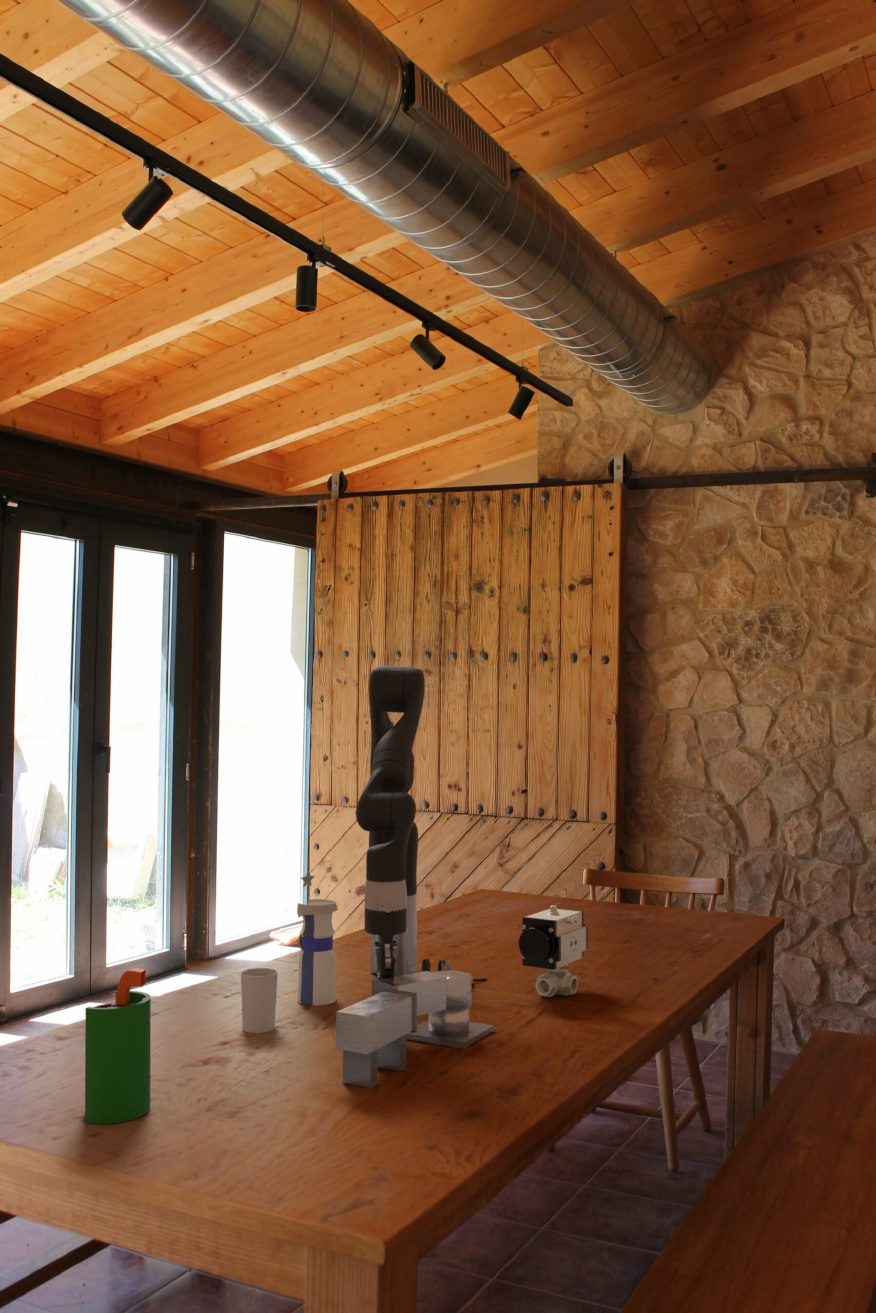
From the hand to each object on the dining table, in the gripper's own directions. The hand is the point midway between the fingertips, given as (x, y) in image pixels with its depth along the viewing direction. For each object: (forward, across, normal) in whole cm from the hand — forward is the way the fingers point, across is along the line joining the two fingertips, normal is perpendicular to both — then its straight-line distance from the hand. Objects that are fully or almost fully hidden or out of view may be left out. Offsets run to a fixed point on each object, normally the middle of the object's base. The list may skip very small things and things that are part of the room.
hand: (385, 1003), depth 193 cm
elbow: (0, +4, +7) cm, 8 cm away
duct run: (+5, +21, -3) cm, 22 cm away
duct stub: (+6, +1, +11) cm, 13 cm away
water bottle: (+6, -25, -12) cm, 29 cm away
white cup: (+6, -7, -22) cm, 24 cm away
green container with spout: (+5, +33, -41) cm, 52 cm away
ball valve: (+6, -25, +37) cm, 45 cm away
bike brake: (+7, -33, +14) cm, 37 cm away
